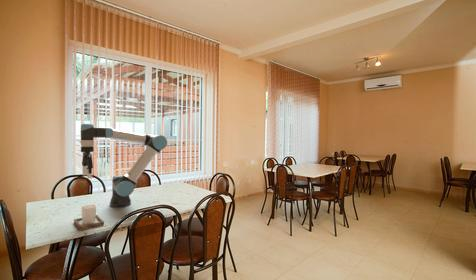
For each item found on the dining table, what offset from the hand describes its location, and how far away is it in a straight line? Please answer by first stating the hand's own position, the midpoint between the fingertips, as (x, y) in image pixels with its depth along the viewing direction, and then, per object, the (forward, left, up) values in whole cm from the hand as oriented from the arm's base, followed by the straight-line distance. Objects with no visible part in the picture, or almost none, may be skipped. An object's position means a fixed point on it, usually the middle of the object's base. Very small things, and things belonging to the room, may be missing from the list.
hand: (87, 176), depth 166 cm
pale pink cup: (+3, +19, -26) cm, 32 cm away
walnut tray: (+3, +19, -27) cm, 33 cm away
